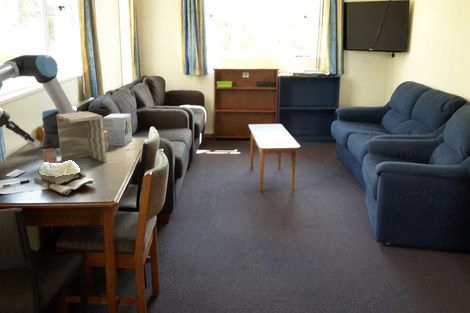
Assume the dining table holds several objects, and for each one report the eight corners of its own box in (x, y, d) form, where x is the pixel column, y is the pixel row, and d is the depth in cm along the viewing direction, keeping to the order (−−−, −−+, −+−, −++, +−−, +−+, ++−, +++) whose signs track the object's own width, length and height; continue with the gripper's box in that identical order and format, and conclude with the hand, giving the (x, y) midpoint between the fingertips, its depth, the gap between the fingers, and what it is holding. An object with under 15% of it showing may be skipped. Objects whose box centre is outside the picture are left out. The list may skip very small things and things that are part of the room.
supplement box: (125, 146, 290) (123, 117, 286) (104, 146, 291) (102, 117, 286) (133, 140, 307) (131, 113, 302) (113, 140, 308) (111, 113, 303)
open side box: (61, 160, 258) (56, 114, 251) (91, 155, 268) (87, 111, 262) (75, 167, 242) (70, 119, 236) (106, 162, 252) (102, 115, 246)
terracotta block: (44, 168, 241) (42, 149, 239) (54, 166, 244) (52, 148, 242) (47, 170, 238) (45, 151, 235) (57, 168, 241) (55, 149, 238)
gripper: (-14, 119, 229) (22, 144, 242) (-1, 126, 210) (37, 153, 223) (-3, 107, 231) (32, 133, 244) (10, 113, 212) (47, 140, 225)
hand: (34, 142), depth 233 cm, fingers open, 13 cm apart
